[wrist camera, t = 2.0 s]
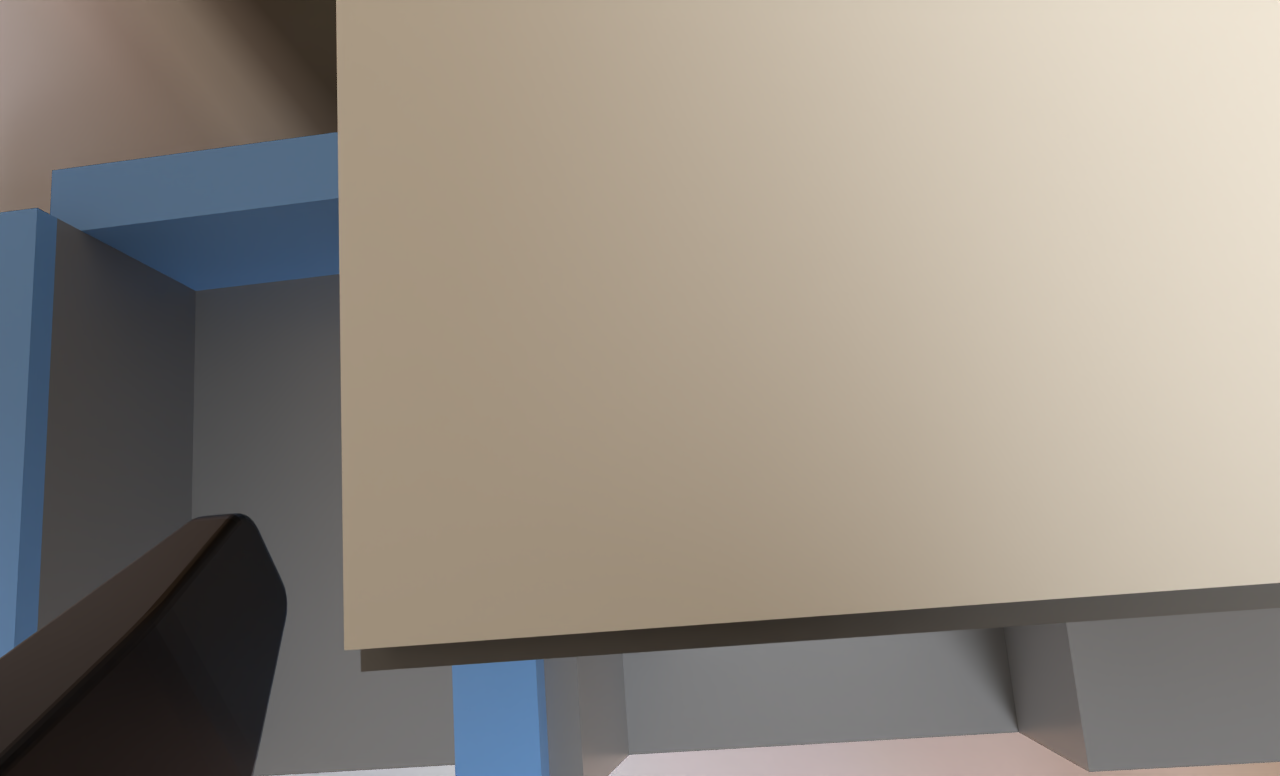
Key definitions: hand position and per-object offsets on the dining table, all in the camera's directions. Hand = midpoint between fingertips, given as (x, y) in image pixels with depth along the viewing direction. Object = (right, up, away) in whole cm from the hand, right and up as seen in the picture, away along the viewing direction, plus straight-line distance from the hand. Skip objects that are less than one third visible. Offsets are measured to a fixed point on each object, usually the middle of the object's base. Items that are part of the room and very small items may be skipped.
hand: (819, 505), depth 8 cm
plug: (+1, 0, +8) cm, 8 cm away
